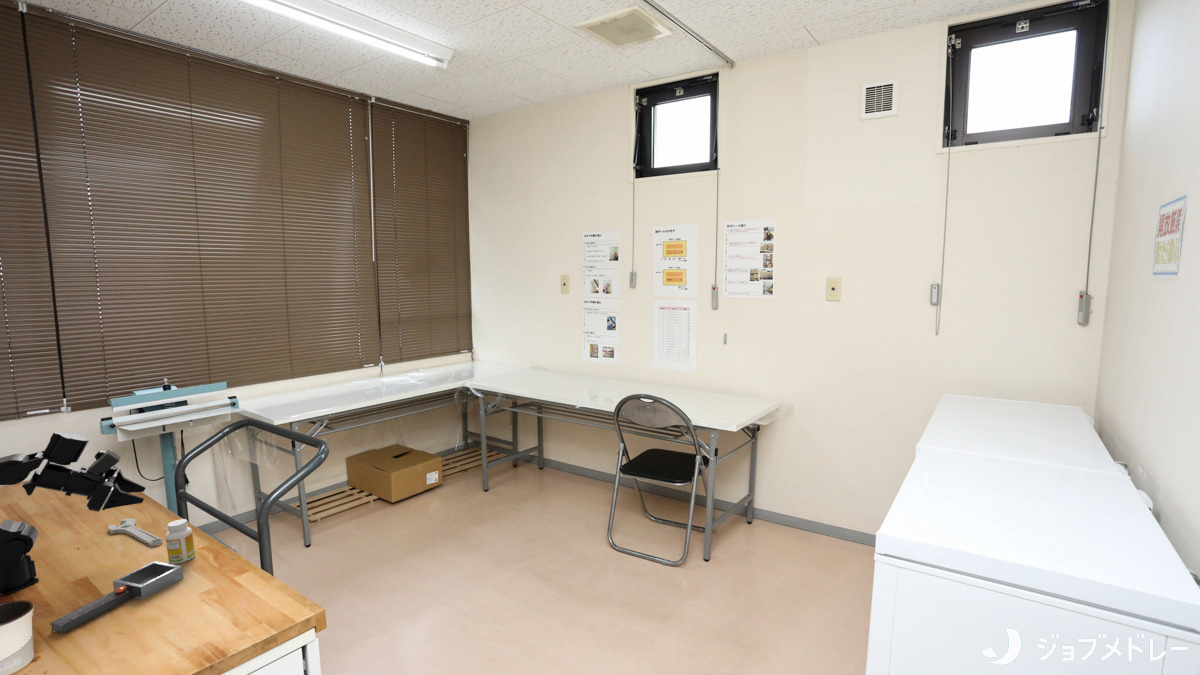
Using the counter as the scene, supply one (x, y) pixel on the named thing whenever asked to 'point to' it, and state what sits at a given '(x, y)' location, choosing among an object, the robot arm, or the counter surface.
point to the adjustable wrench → (134, 532)
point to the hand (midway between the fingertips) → (144, 495)
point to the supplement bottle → (179, 542)
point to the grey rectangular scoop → (123, 593)
